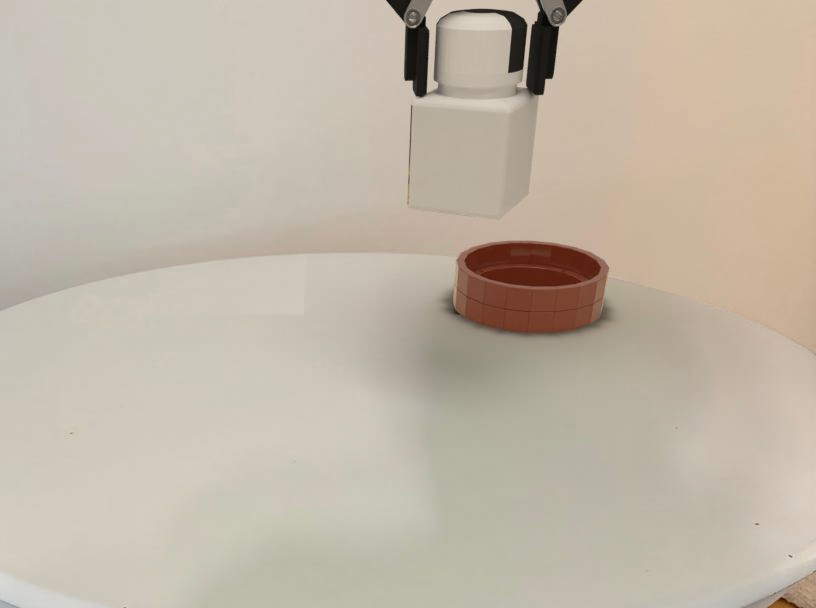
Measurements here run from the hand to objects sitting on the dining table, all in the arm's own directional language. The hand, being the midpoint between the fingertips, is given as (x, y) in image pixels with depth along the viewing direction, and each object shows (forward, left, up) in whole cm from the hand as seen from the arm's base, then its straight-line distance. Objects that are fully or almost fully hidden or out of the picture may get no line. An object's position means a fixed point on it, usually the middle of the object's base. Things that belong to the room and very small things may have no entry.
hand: (477, 90), depth 68 cm
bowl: (-10, -21, -23) cm, 33 cm away
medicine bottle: (0, 0, -8) cm, 8 cm away
